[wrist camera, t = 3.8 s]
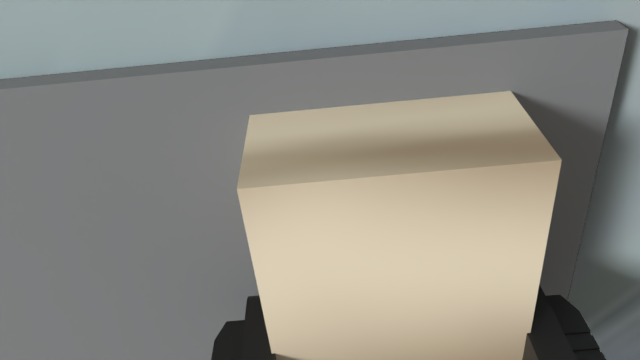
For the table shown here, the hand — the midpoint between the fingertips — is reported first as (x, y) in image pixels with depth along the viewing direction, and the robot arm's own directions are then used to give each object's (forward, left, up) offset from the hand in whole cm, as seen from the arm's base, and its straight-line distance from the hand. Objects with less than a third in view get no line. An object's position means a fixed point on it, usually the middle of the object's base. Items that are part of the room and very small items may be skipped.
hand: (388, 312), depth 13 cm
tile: (0, 0, -1) cm, 1 cm away
